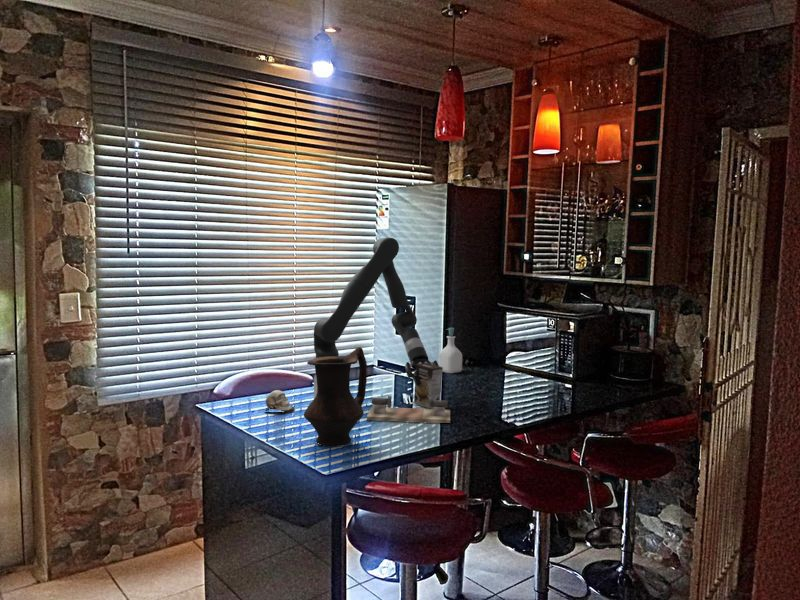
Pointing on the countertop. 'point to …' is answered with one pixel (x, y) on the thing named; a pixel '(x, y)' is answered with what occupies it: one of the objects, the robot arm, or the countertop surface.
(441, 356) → the soap bottle
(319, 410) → the jug
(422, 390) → the coffee box
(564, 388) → the countertop surface
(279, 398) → the skull
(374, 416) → the shaft board
